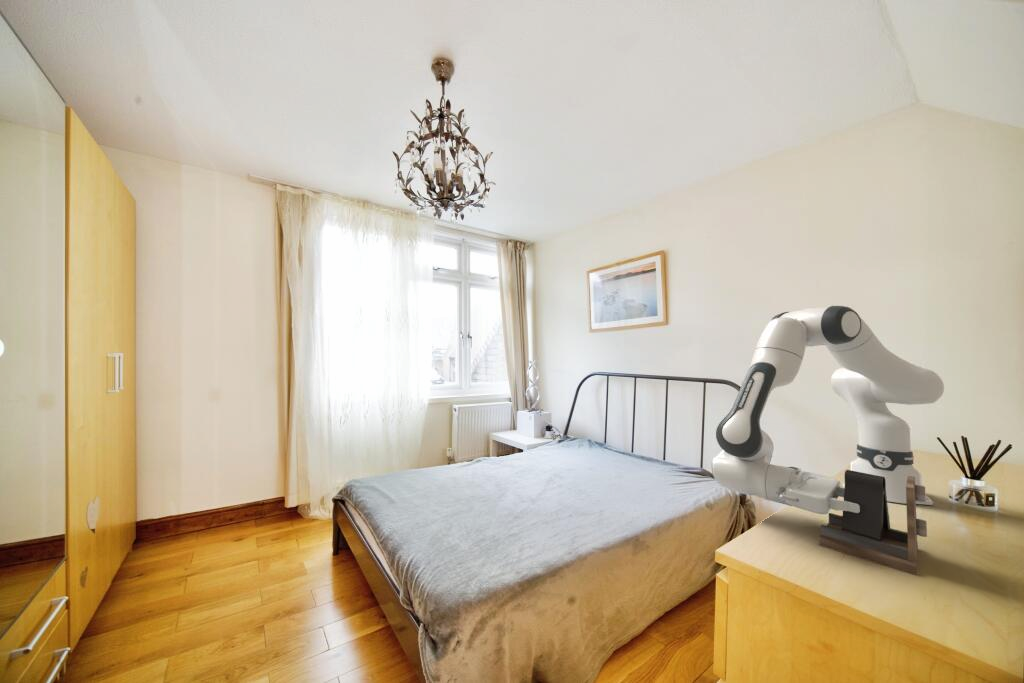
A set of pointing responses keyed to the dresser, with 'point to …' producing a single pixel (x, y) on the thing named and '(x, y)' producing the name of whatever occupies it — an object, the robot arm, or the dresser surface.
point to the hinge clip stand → (893, 547)
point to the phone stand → (866, 505)
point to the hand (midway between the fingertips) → (862, 503)
